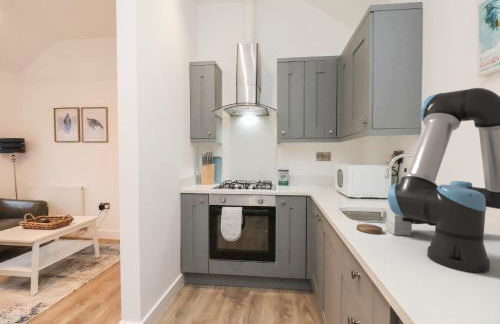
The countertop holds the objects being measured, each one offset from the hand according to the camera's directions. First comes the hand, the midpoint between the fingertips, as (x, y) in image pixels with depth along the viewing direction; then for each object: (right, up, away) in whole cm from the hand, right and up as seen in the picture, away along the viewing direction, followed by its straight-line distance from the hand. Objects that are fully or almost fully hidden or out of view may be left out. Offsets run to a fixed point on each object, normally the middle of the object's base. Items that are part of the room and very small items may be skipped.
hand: (387, 216), depth 108 cm
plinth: (-7, -7, +3) cm, 10 cm away
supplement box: (+5, -7, +1) cm, 9 cm away
